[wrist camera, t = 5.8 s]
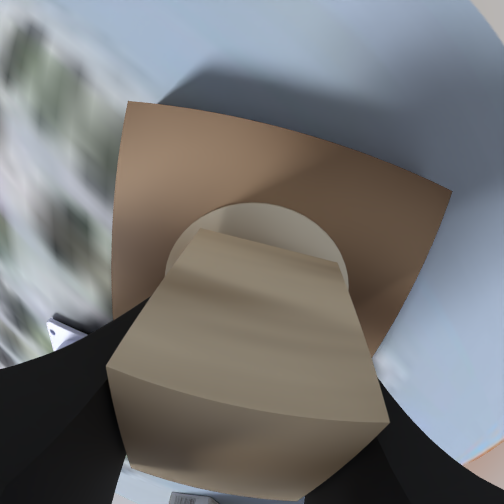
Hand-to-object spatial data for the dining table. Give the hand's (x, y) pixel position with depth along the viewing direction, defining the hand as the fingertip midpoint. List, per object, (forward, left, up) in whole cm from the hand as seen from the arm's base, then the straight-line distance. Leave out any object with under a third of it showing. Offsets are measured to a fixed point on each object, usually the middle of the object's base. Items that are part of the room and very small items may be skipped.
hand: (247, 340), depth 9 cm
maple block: (0, 0, -2) cm, 2 cm away
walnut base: (0, 0, -5) cm, 5 cm away
